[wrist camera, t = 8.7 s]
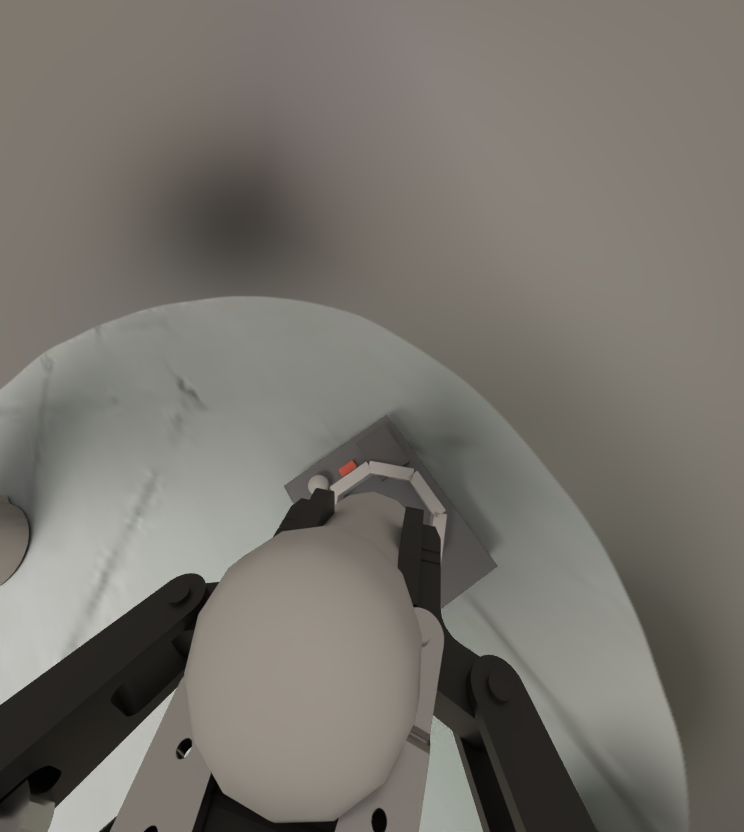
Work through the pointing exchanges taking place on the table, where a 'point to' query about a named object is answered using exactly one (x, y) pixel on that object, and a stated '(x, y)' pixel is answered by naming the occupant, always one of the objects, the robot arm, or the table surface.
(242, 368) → the table surface
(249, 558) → the salt shaker
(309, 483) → the octagon ring base
